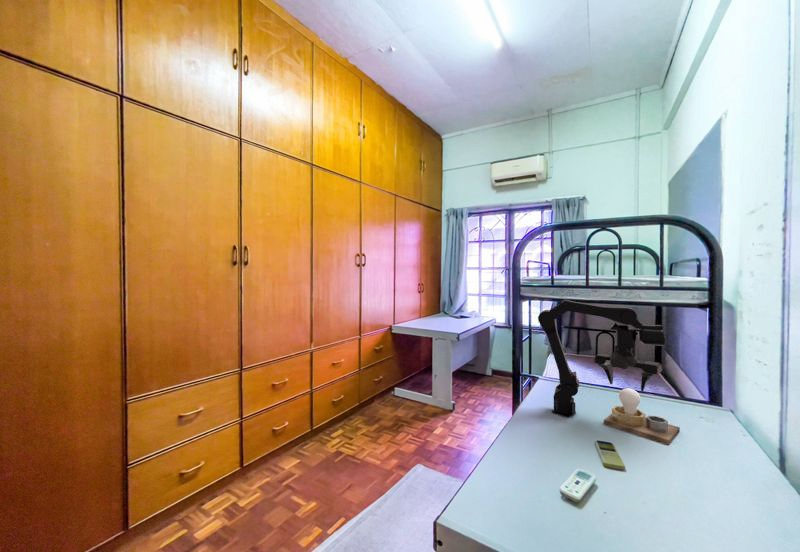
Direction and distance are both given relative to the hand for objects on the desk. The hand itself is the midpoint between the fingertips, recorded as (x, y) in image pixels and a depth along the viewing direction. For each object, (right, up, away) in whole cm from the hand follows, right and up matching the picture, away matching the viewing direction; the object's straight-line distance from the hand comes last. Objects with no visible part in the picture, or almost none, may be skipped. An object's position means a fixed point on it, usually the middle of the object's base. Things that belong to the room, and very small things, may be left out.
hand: (626, 387), depth 112 cm
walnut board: (+3, -13, -3) cm, 13 cm away
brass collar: (+1, -11, 0) cm, 11 cm away
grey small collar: (+6, -11, -6) cm, 14 cm away
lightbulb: (+1, -12, 0) cm, 12 cm away
